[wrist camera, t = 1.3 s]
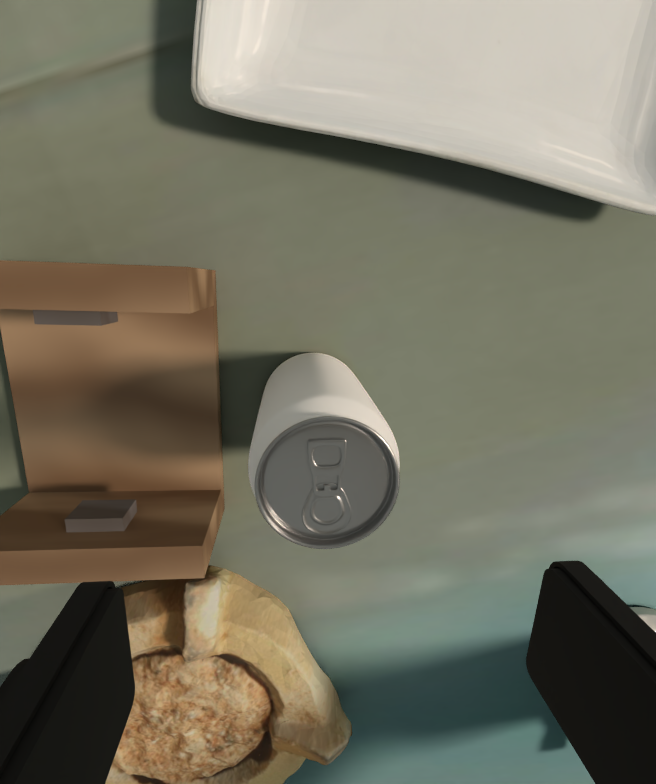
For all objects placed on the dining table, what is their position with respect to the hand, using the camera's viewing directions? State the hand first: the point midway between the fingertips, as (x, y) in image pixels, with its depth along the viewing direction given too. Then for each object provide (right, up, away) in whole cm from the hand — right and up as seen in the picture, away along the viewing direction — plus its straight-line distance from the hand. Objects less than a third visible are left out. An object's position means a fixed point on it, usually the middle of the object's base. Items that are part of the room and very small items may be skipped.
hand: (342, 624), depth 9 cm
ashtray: (-11, -18, +24) cm, 32 cm away
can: (-1, +5, +18) cm, 19 cm away
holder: (-13, +5, +17) cm, 22 cm away
